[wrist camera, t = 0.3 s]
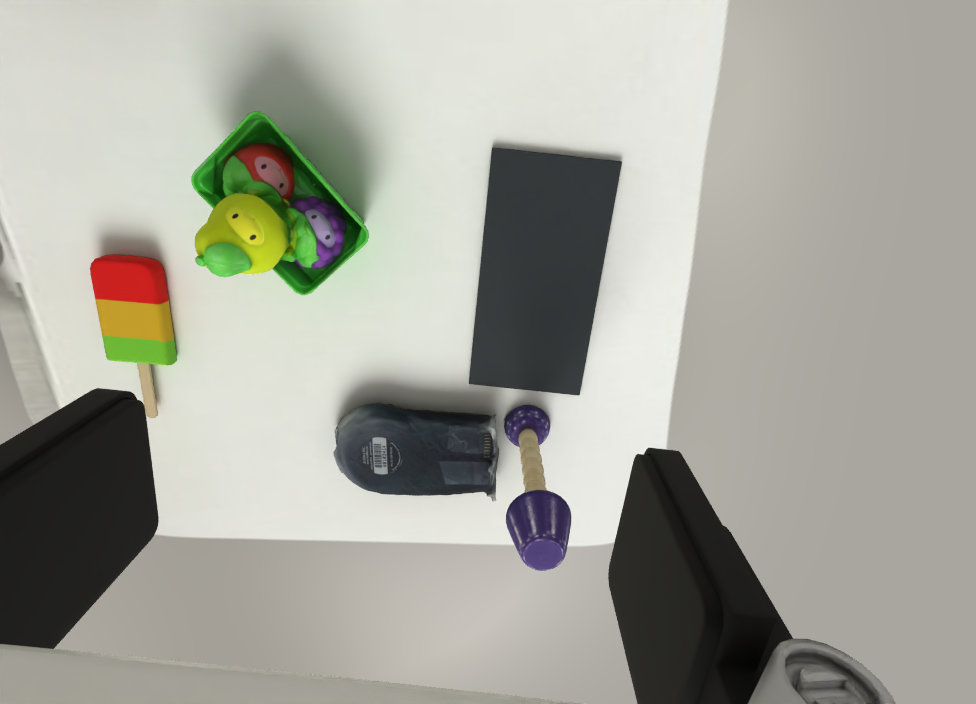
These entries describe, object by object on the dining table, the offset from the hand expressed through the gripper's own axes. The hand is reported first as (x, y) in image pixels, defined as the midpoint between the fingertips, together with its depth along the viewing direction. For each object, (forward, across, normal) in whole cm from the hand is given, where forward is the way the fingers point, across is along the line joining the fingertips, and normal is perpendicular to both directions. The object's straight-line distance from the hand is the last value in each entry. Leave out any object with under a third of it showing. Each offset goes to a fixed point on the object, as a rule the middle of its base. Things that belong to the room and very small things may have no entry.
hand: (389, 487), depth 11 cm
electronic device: (+37, +4, +21) cm, 43 cm away
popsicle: (+37, +28, +13) cm, 48 cm away
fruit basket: (+37, +14, 0) cm, 39 cm away
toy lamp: (+37, -7, +18) cm, 42 cm away
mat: (+37, -6, +4) cm, 37 cm away
